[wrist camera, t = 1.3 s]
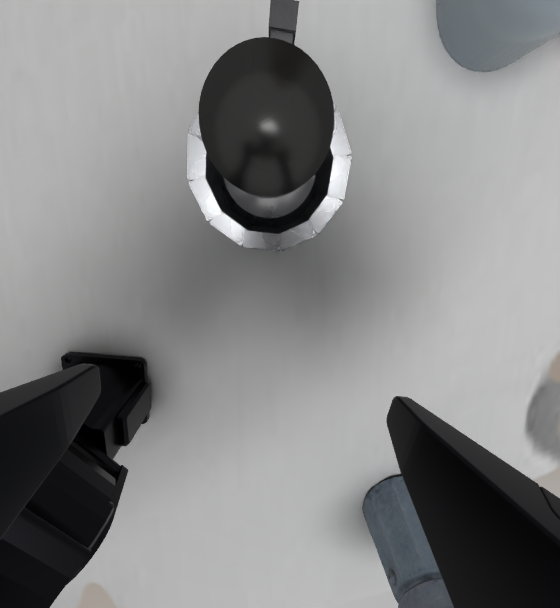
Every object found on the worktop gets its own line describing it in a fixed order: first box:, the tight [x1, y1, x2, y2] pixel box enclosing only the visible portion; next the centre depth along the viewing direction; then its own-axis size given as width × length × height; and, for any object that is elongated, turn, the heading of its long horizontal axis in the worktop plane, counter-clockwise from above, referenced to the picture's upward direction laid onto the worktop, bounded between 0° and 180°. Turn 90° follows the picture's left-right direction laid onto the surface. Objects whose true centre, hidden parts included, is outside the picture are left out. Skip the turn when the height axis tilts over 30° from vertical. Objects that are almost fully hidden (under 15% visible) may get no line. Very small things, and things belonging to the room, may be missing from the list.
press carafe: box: [187, 0, 352, 251], centre depth 15 cm, size 8×11×5 cm
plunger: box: [199, 37, 334, 218], centre depth 10 cm, size 5×5×8 cm
